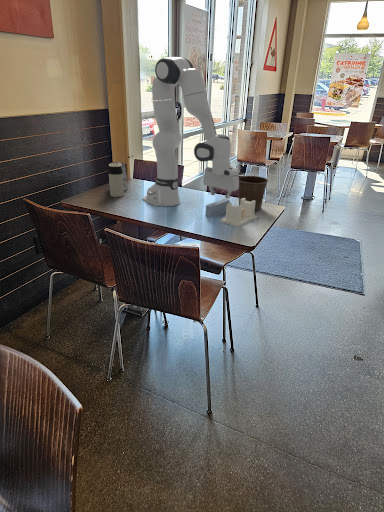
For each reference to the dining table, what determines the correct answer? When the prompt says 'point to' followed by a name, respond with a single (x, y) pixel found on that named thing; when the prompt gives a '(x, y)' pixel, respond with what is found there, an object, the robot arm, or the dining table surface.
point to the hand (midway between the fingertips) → (220, 196)
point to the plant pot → (252, 189)
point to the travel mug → (116, 180)
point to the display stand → (240, 213)
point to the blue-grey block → (216, 208)
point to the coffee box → (124, 174)
